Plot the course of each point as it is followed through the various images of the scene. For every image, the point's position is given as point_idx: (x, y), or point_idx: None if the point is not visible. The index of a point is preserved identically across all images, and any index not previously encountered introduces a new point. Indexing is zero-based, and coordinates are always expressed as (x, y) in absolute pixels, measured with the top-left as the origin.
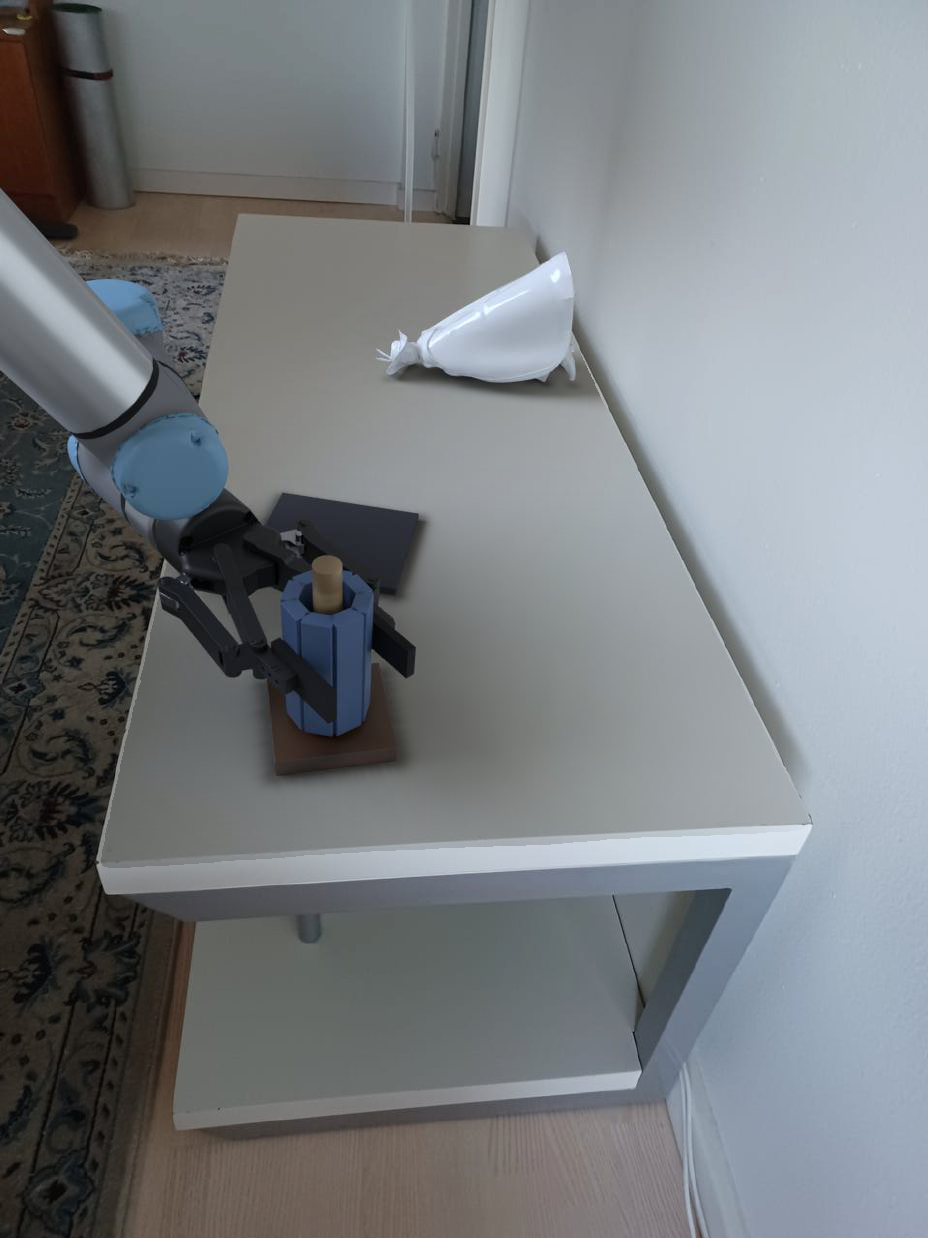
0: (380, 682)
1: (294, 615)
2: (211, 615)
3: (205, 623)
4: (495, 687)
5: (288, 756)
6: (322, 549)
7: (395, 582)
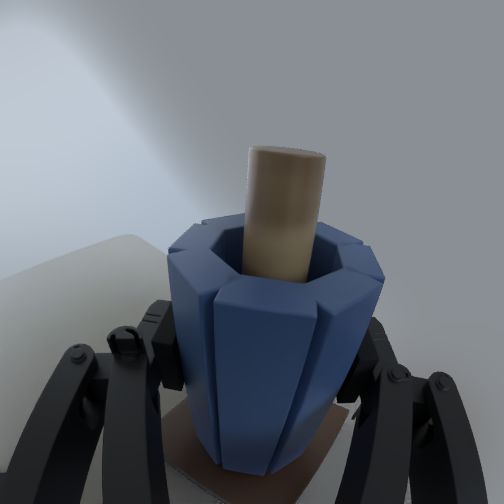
0: (169, 415)
1: (368, 251)
2: (458, 472)
3: (472, 451)
4: (100, 348)
5: (334, 408)
6: (33, 489)
7: (4, 474)
